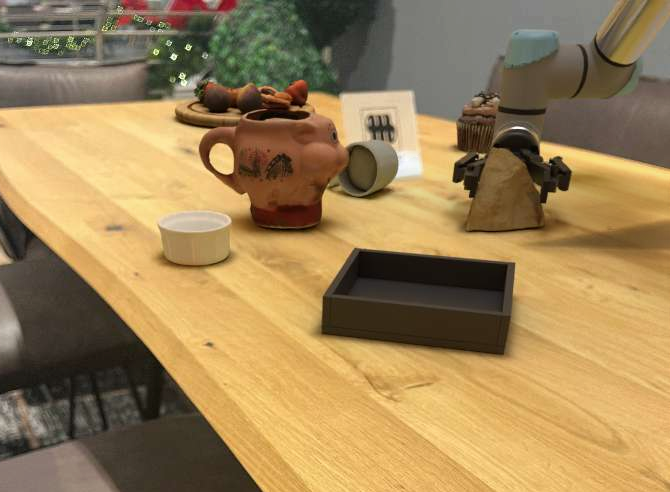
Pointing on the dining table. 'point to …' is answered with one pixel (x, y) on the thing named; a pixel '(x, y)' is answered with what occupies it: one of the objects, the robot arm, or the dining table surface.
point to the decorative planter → (280, 164)
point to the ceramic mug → (367, 168)
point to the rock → (505, 196)
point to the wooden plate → (239, 102)
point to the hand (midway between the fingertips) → (508, 189)
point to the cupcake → (478, 123)
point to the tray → (421, 300)
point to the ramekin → (195, 237)
